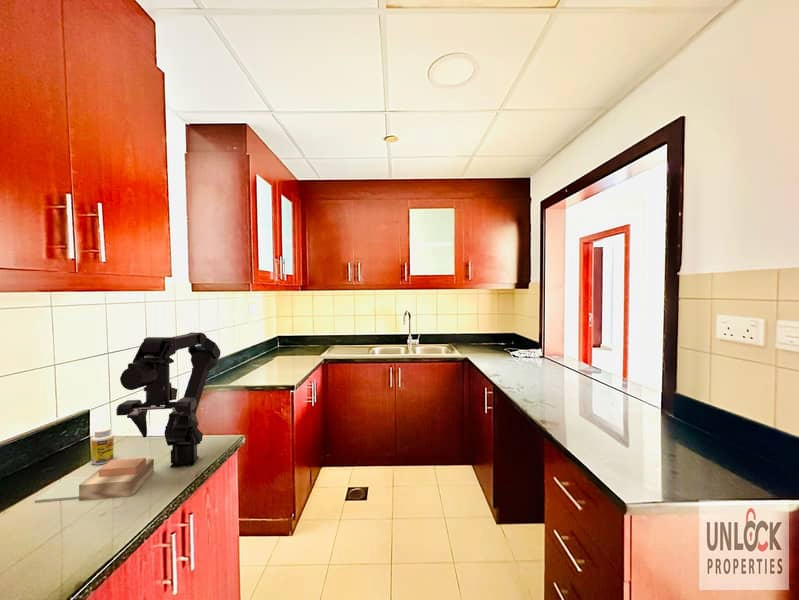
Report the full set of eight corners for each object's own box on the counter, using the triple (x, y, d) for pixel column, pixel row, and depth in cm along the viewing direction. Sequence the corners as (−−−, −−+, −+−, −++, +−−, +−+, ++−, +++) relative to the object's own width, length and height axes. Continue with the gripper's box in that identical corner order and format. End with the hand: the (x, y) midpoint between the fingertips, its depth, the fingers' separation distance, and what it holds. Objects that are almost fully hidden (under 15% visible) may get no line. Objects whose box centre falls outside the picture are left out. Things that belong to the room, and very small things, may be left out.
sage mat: (104, 477, 112) (104, 475, 112) (79, 498, 101) (79, 496, 101) (65, 480, 110) (65, 478, 110) (34, 502, 99) (34, 500, 99)
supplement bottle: (95, 467, 119) (94, 434, 119) (89, 462, 122) (88, 430, 122) (116, 460, 123) (116, 429, 123) (110, 456, 127) (109, 425, 127)
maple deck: (153, 472, 116) (153, 458, 116) (130, 495, 102) (130, 480, 102) (108, 475, 113) (108, 461, 113) (79, 500, 100) (79, 485, 100)
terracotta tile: (145, 464, 112) (145, 457, 112) (135, 474, 106) (135, 466, 106) (110, 467, 110) (110, 460, 110) (98, 477, 104) (98, 469, 104)
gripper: (202, 374, 119) (202, 424, 119) (135, 376, 115) (135, 428, 116) (189, 382, 108) (190, 438, 108) (115, 385, 104) (115, 442, 105)
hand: (158, 436), depth 110 cm, fingers open, 6 cm apart
